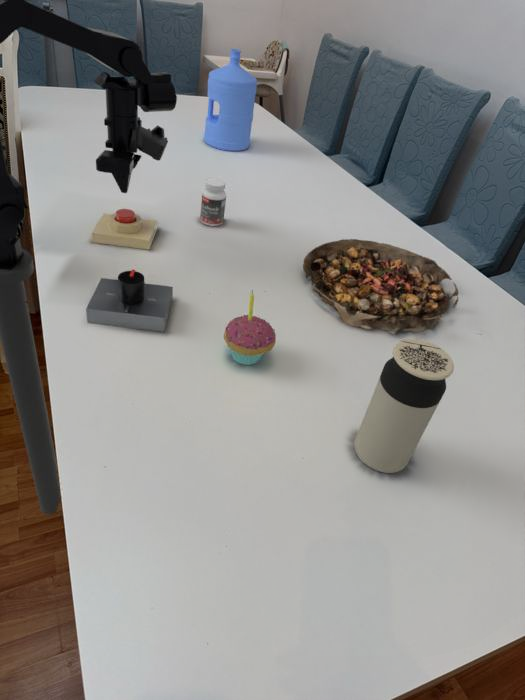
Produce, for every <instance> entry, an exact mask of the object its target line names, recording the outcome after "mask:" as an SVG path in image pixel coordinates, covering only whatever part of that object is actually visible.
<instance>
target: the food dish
mask: <svg viewBox="0 0 525 700" xmlns="http://www.w3.org/2000/svg"><path fill="white" fill-rule="evenodd" d="M302 269H303V272H304V274H305V279H306V280H307V279H308V278H309V277H310V278H311V280H310V279H309V283H310V284H311V286H313V289H314V292H315V293H316V294H318V297H321V298H322V299H321V300H322V302H324V303H325V304H329V306H331V307H333V309H334V311H336V312H337V313H338V315H339V316H340V318H341V320H342V321H343V322H344V323H345V324H346V325H349V326H352V327H356V328H357V327H360V328H362V329H366V330H371V329H377V330H381V331H386V332H389V333H390V334H393V335H396V334H397V333H398V332H412V333H421V332H422V331H424V330H428V329H430V330H431V329H433V328H434V326H436V325H437V323H438V321H440V318H441V317H443V315H442V314H445V313H446V312H447V310H448V309H449V308H450V304H451V300H452V298H453V297H456V300H455V301H454V302H453V304H452V308H453V309H454V308H456V307H457V305H458V303H459V288H458V286H457V285H456V283H455V281H452V280H453V279H452V277H451V275H450V274H449V273H448V272H447V271H446V269H444V268H443V267H441V266H439V265H438V263H437V262H436V261H435V260H434V259H431V258H429V257H426V256H423V255H421V254H418V253H415V252H413V251H411V250H408V249H405V248H402V247H399V246H396V245H392V244H389V243H384V242H382V243H381V242H377V241H373V240H365V239H364V240H363V239H356V238H349V239H339V240H334V241H330V242H325V243H322V244H320V245H318V246H316V247H314V248H313V249H311V250H310V251H308V253H307V254H306V255H305V257H304V259H303V264H302ZM445 279H446V280H447V279H448V280H450V281H452V284H453V287H454V292H453V293H452V294H451V296H450V294H449V293H446V290H444V287H442V286H441V285H440V284H441V282H442V281H444V280H445Z"/></svg>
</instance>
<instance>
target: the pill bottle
mask: <svg viewBox="0 0 525 700" xmlns="http://www.w3.org/2000/svg"><path fill="white" fill-rule="evenodd" d="M204 182H205V183H204V187H205V188H204V189H203V190H202V193H201V203H200V204H201V206H200V222H201V223H203V224H204V225H207V226H210V227H218V226H221V225H223V223H224V220H225V212H226V211H225V210H226V202H227V193H226V191H225V190H226V182H225V181H224V180H223V179H219V178H215V177H214V178H213V177H212V178H207V179H205V181H204Z"/></svg>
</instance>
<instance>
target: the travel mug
mask: <svg viewBox="0 0 525 700" xmlns="http://www.w3.org/2000/svg"><path fill="white" fill-rule="evenodd" d="M392 355H393V357H391V358H389V359H388V360H387V361H386V362H385V363H384V365H383V368H382V370H381V373H380V375H379V378H378V380H377V383H376V385H375V388H374V391H373V393H372V396H371V398H370V401H369V403H368V406H367V408H366V410H365V413H364V416H363V419H362V421H361V423H360V425H359V428H358V431H357V433H356V436H355V438H354V443H353V445H354V447H353V448H354V450H355V453H356V455H357V456H358V458H359V459H360V460H361V461H362V462H363V463H364V464H365V465H366V466H368V467H369V468H371V469H373V470H375V471H378V472H380V473H388V474H391V473H393V474H394V473H398V472H401V471H402V470H404V469H406V467H407V465H408V464H409V462H410V460H411V458H412V456H413V454H414V452H415V450H416V449H417V446H418V444H419V442H420V441H421V439H422V437H423V435H424V433H425V431H426V429H427V427H428V425H429V423H430V422H431V419H432V418H433V415H434V414H435V411H436V410H437V408H438V406H439V404H440V402H441V400H442V398H443V397H444V394H445V393H446V390H447V381H446V379H447V378H450V377H451V375H452V374H453V372H454V369H455V365H454V362H453V359H452V357H451V356H450V355H449V354H448V353H447V352H446V351H445V350H444V349H443V348H441V347H439V346H438V345H436V344H434V343H432V342H429V341H427V340H423V339H418V338H405V339H401V340H399V341H398V342H396V343H395V345H393V348H392Z"/></svg>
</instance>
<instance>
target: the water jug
mask: <svg viewBox="0 0 525 700" xmlns="http://www.w3.org/2000/svg"><path fill="white" fill-rule="evenodd" d="M241 53H242V50H239V49H237V48H236V49H235V48H230V55H229V63H228V64H226V65H224V66H221V67H218V68H215V69H213V70H210V71H209V72H208V79H207V97H208V103H207V115H206V117H205V122H204V133H203V140H204V142H205V143H206V144H207V145H208V146H209V147H212V148H215V149H218V150H223V151H228V152H230V151H231V152H240V151H244V150H246V149H248V148H249V146H250V145H251V144H250V143H251V132H252V125H253V121H254V120H253V119H254V109H255V101H256V94H257V89H258V88H257V87H258V86H257V84H258V79H257V78H256V76H255V77H254V76H253V75H252V74H251V73H249V72H248V71H247V70H245V68H243V67H242V66H241V64H240V60H241ZM215 102H217V103H218V106H219V108H218V114H214V104H215Z"/></svg>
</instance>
